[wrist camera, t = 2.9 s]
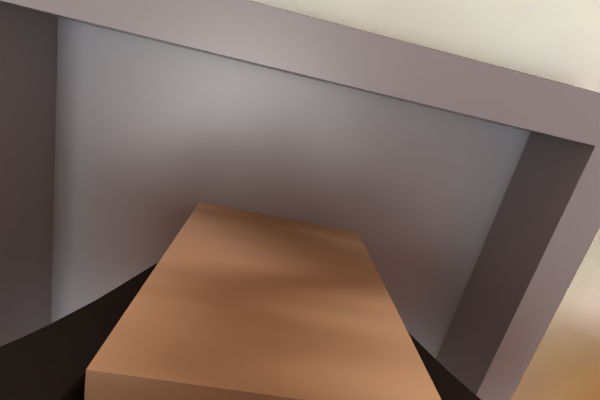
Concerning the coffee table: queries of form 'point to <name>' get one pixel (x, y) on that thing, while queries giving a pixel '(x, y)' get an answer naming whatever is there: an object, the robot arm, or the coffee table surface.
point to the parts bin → (291, 163)
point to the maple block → (260, 319)
